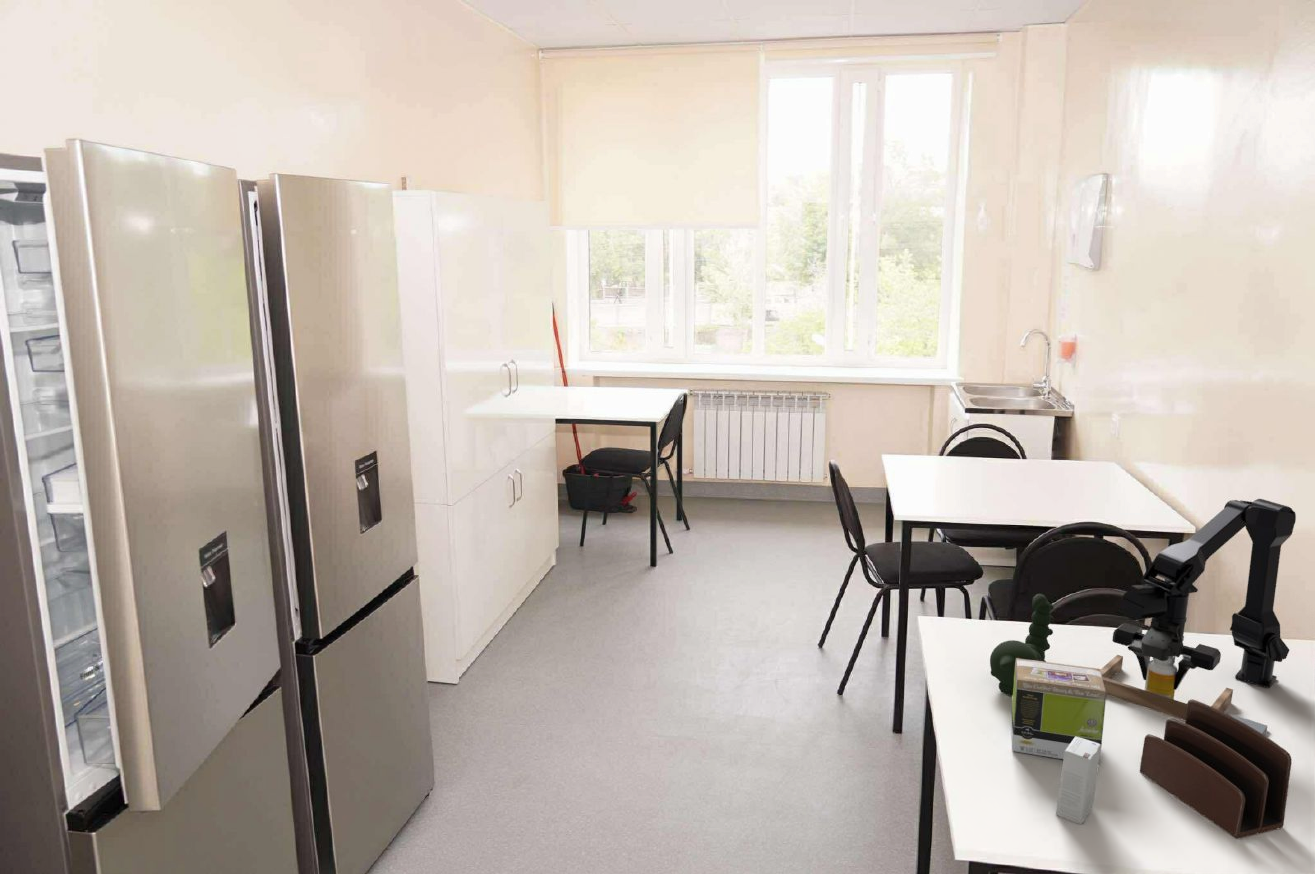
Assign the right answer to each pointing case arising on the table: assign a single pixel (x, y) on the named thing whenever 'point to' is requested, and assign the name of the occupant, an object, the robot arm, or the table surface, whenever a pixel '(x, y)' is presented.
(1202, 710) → the letter holder
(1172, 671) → the supplement bottle
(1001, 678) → the toy figurine
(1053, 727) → the tea box
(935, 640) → the table surface
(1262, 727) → the slate mat
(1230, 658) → the table surface
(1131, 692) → the walnut stall
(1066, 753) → the skincare box
